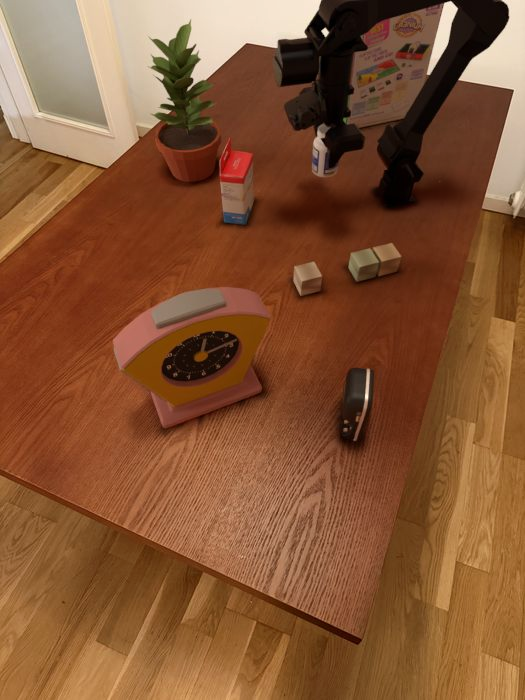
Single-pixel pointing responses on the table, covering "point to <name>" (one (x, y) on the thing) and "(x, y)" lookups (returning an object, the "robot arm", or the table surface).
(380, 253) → the block line
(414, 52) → the game box
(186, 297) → the toy desk clock
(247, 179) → the ink box
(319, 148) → the pill bottle
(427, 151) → the table surface
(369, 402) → the battery charger
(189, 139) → the potted plant
